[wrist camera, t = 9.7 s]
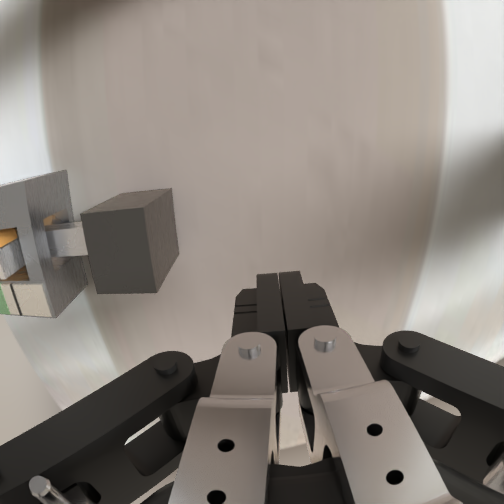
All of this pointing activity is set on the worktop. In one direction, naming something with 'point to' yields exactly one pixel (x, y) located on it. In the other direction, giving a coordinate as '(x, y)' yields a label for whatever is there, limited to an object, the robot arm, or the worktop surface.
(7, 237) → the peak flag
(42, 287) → the gauge housing
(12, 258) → the dark cube on shaft
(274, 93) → the worktop surface
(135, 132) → the worktop surface
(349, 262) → the worktop surface
